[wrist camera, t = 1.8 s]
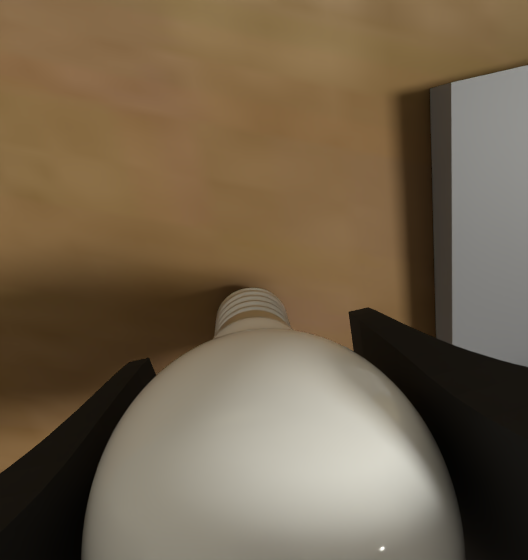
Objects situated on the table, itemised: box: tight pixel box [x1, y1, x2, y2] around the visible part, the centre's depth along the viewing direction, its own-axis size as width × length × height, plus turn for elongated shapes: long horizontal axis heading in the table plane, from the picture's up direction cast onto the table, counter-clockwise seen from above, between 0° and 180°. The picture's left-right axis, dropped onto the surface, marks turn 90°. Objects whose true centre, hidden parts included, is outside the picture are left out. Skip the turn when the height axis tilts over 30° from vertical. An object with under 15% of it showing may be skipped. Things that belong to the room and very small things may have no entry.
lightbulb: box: [81, 288, 466, 560], centre depth 9 cm, size 6×6×11 cm
